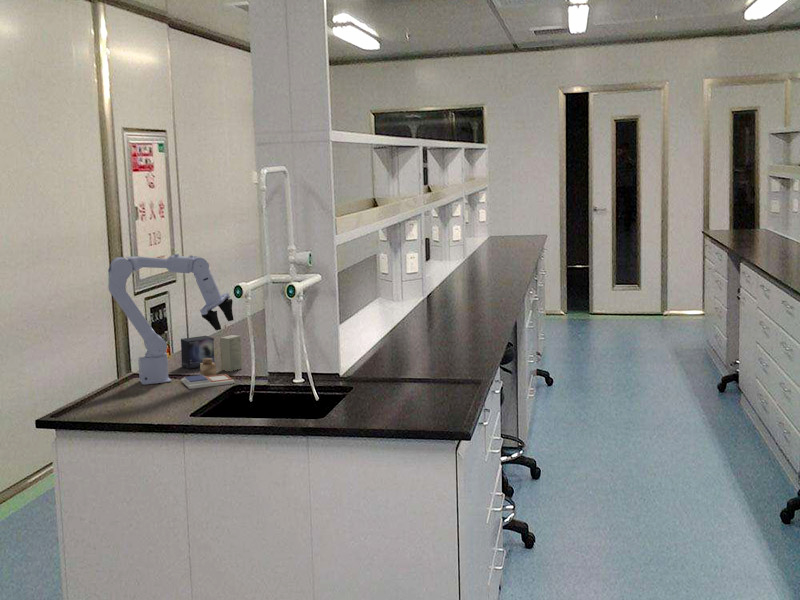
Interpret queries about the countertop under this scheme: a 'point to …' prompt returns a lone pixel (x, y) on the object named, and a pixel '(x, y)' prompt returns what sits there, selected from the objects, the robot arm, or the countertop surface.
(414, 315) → the countertop surface
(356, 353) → the countertop surface
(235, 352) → the skincare box
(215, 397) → the countertop surface
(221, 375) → the board
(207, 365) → the stamp
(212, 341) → the small box
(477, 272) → the countertop surface
